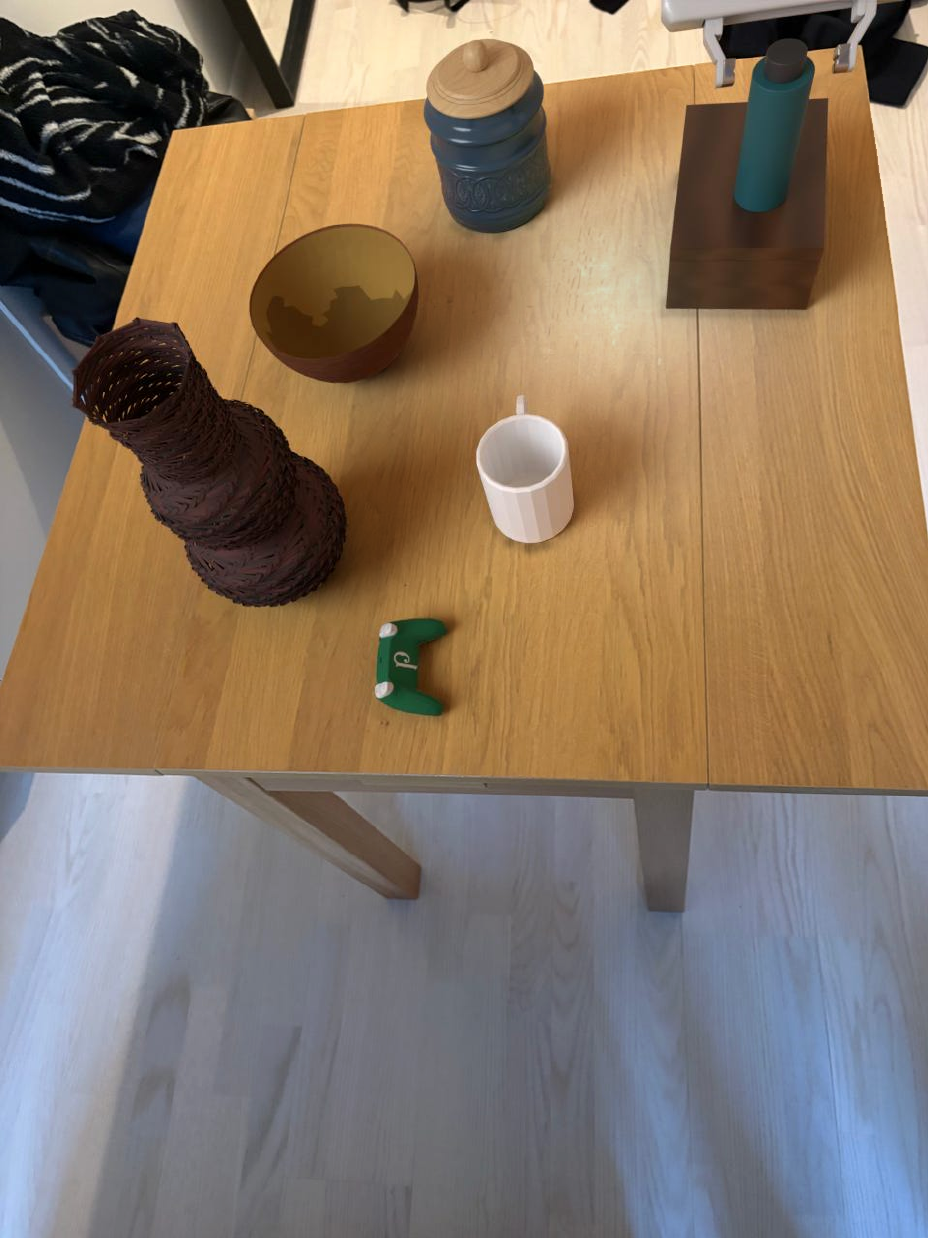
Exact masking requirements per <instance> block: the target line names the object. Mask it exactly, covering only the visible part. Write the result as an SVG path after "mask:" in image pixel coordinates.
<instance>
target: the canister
mask: <svg viewBox="0 0 928 1238" xmlns="http://www.w3.org/2000/svg"><path fill="white" fill-rule="evenodd" d="M534 67H535V66H534V63H533V60H532V57H531V56H530V55H529V53H528V52H527V51H526V50H525V49H523V48H522V47H521V46H519V45H516V44H514V43H512V42H508V41H504V40H501V39H496V38H482V39H480V38H479V39H472V40H470V41H467V42H465V43H463V44H461V45H459V46H457V47H455V48H453V50H451V51H449V52H448V53H447V54H446V55H445V56H444V57H443V58H442V59H441V60H439V62H438V63H436V64H435V66H434V67H433V68H432V70H431V71H430V73H429V75H428V78H427V80H426V85H425V87H426V88H425V89H426V90H425V92H426V97H425V101H424V103H423V119H424V122H425V124H426V126H427V128H428V130H429V131H430V137H429V145H430V149H431V152H432V154H433V156H434V158H435V163H436V166H437V170H438V171H437V172H438V175H439V176H438V177H439V179H440V184H441V185H440V187H441V188H440V190H441V195H442V199H443V202H444V205H445V207H446V208H447V210H448V212H449V214H450V216H451V218H452V219H453V221H455V222H456V223H457V224H458V225H460V226H461V227H463V228H465V229H467V230H469V231H474V232H478V233H491V234H492V233H501V232H506V231H508V230H512V229H516V228H517V227H519V226H520V227H521V226H522V225H524V224H525V223H527V222H528V221H530V220H531V219H533V218H535V216H536V215H537V214H538V213H539V212H540V211H541V210H542V209H543V208H544V206H545V205H546V203H547V201H548V199H549V196H550V191H551V185H552V166H551V161H550V159H549V150H548V149H549V148H548V138H547V137H548V136H547V126H548V119H547V113H546V111H545V108H544V106H543V102H544V97H545V87H544V83H543V80H542V78H541V76H540V75H539V73H538V71H536V70H535V68H534Z"/></svg>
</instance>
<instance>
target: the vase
mask: <svg viewBox="0 0 928 1238" xmlns="http://www.w3.org/2000/svg"><path fill="white" fill-rule="evenodd" d="M94 341H95V342H94V343H93V345H92V346H91V347H90V348H89V350H88V351H87V352H86V353H85V355H84V356H83V357H82V359H81V360H80V361H79V362H78V364H77V365H76V366H75V367H74V369H72V370H70V372H71V375H72V376H73V377H72V378H73V383H72V384H73V385H72V398H71V401H72V405H71V407H72V408H74V409H77V410H79V411H80V412H82V414H84V415H85V417H86V418H87V419H88V420H87V421H88V422H90V423H91V425H93V426H98V427H99V428H100V427H101V428H102V429H104V430H107V431H109V432H108V434H109V435H108V436H109V437H110V438H111V439H112V440H114V441H116V442H118V443H119V444H120V445H121V446H122V447H124V448H126V449H127V450H130V451H131V452H132V453H133V455H135V456H136V458H137V461H139V462H140V463H141V464H142V465H141V467H140V468H141V470H140V471H141V473H140V474H139V479H140V482H139V484H140V486H141V488H142V491H143V493H144V496H143V497H144V498H145V499H146V503H147V504H148V505H149V509H150V513H151V515H153V516H154V519H155V520H156V521H157V522H158V523H159V522H160V524H161V525H162V526H164V527H166V528H169V529H170V532H171V533H172V534H174V535H176V536H177V538H178V539H180V540H181V541H184V544H185V545H184V546H183V548H184V550H185V553H186V555H185V557H186V558H187V561H188V562H189V564H190V566H191V570H192V571H193V572H195V573H196V574H197V577H199V578H201V579H200V581H201V583H203V584H204V585H206V586H207V588H206V589H208V591H211V592H215V594H216V595H217V596H219V597H224V598H225V599H227V600H231V602H232V603H233V604H234V605H241V606H242V607H245V608H251V607H252V606H253V608H261V607H262V608H266V607H269V608H277V607H278V606H280V607H285V606H286V605H288V604H290V603H295V602H297V600H299V599H301V598H306V597H307V596H308V595H309V594H310V593H312V592H315V591H317V590H318V589H319V588H320V587H321V585H322V584H324V583H326V582H327V580H328V579H329V578H330V576H331V574H333V573H334V571H335V570H336V567H337V564H338V562H340V561H341V558H342V554H343V552H344V547H345V543H346V541H347V531H348V517H347V511H346V506H345V502H344V499H343V496H342V495H341V494H340V492H339V488H338V486H337V484H335V483H334V482H333V480H332V477H331V476H330V475H329V474H328V473H327V472H326V471H325V469H324V468H323V467H322V466H321V465H318V464H317V463H315V461H314V460H312V459H310V458H308V457H306V456H303V455H300V454H298V453H297V452H294V451H292V449H291V447H290V443H289V440H288V437H287V436H286V435H285V433H284V431H283V429H282V427H280V426H278V425H276V422H275V421H274V420H273V419H272V418H271V417H270V416H269V415H267V414H266V413H265V412H264V410H262V409H261V408H259V407H256V406H254V405H253V404H251V403H249V402H246V401H241V400H239V399H228V398H223V396H222V395H220V394H219V392H218V391H217V389H216V387H215V386H214V385H213V384H212V382H211V378H210V377H209V376H208V371H207V370H206V369H205V368H204V367H203V365H202V364H201V363H200V362H199V360H197V357H196V355H195V353H194V351H193V348H192V347H191V345H190V343H189V341H188V339H186V335H185V334H184V332H183V330H181V327H180V325H179V323H178V322H174V321H172V322H164V321H159V320H152V319H146V318H140V317H138V316H136V317H135V318H134V319H132V320H131V322H128V323H126V324H124V325H122V326H120V327H118V328H115V329H113V330H111V331H108V332H106V333H104V334H101V335H96V337H95V338H94Z"/></svg>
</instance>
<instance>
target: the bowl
mask: <svg viewBox="0 0 928 1238" xmlns="http://www.w3.org/2000/svg"><path fill="white" fill-rule="evenodd" d="M419 297H420V295H419V279H418V273H417V268H416V264H415V261H414V259H413V257H412V254H411V252H410V251H409V249H408V247H407V246H406V245H405V244H404V243H403V242H402V240H400V238H398V237H397V236H396V235H394V234H393V233H391V232H389V231H387V230H385V229H384V228H381V227H378V226H373V225H370V224H364V223H341V224H333V225H328V226H324V227H321V228H318V229H315V230H313V231H310V232H308V233H305V234H304V235H302V236H299V237H298V238H296V239H294V240H292V241H291V242H289V243H288V244H286V245H285V246H283V248H281V249H280V250H279V251H278V252H276V254H274V255H273V256H272V257H271V259H269V261H268V262H267V263H266V264H265V265H264V267H263V268H262V270H261V271H260V272H259V274H258V276H257V278H256V280H255V282H254V283H253V286H252V289H251V293H250V296H249V303H248V304H249V305H248V313H249V316H250V322H251V325H252V327H253V328H252V329H254V332H255V333H256V335H257V337H258V339H259V340H260V342H261V343H262V344H263V346H264V347H265V348H266V349H267V351H269V352H270V353H271V355H272V356H274V358H276V359H277V360H278V361H280V362H281V364H283V365H285V366H286V367H288V368H289V369H291V370H292V371H294V372H296V373H298V374H300V375H302V376H304V377H307V378H310V379H312V380H316V381H317V382H323V383H330V384H350V383H355V382H358V381H363V380H365V379H368V378H370V377H373V376H375V375H376V374H378V373H380V372H381V371H382V370H384V369H385V368H387V367H388V366H389V365H390V364H391V363H392V362H393V361H394V360H395V359H396V358H397V357H398V356H399V355H400V353H401V352H402V350H403V349H404V347H405V346H406V344H407V342H408V340H409V338H410V335H411V333H412V331H413V328H414V326H415V322H416V318H417V313H418V307H419Z"/></svg>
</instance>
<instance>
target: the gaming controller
mask: <svg viewBox="0 0 928 1238" xmlns="http://www.w3.org/2000/svg"><path fill="white" fill-rule="evenodd" d="M447 633H448V628H447V626H446V624H445V622H444V621H443V620H441V619H438V618H433V617H421V618H420V617H416V618H415V617H413V618H405V619H404V618H403V619H399V620H393V621H389V622H385V623H384V624H383V625H381V627H380V629H379V633H378V634H379V635H378V642H379V643H378V648H377V654H376V655H377V656H376V669H375V671H376V673H375V677H376V679H375V680H376V683H375V685H374V686H375V687H374V691H375V698H376V699H377V700H378V701H379V702H380V703H382V704H384V705H386V706H387V707H389V708H391V709H393V710H396V711H400V712H403V713H407V714H413V715H419V716H429V717H441V716H442V713H443V710H444V707H445V704H444V703H443V702H442V701H440V699H438V698H436V697H434V696H432V695H431V694H428V693H426V692H423V691H421V690H418V678H419V662H420V661H419V660H420V645H422V644H424V643H427V642H431V641H434V640H435V641H436V640H438V639H439V638H442V637H444V636H446V634H447Z"/></svg>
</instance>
